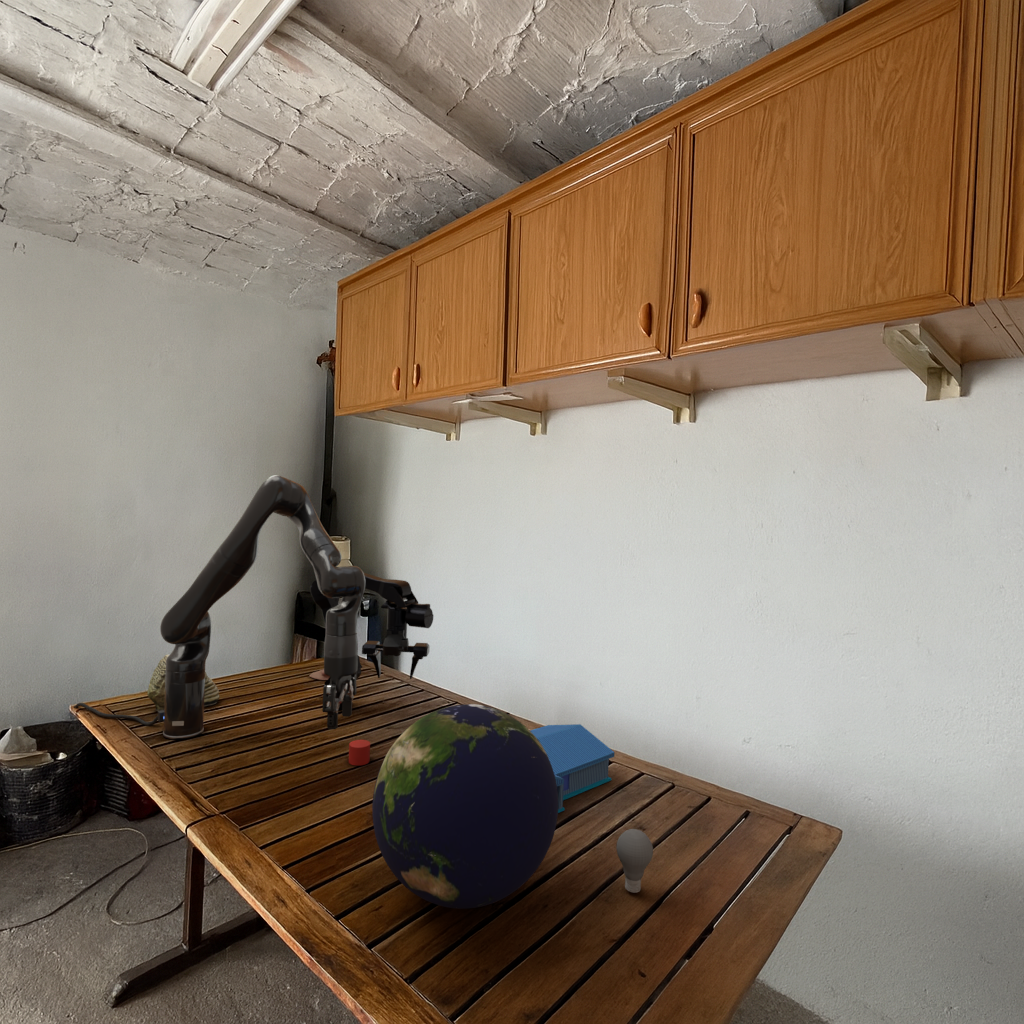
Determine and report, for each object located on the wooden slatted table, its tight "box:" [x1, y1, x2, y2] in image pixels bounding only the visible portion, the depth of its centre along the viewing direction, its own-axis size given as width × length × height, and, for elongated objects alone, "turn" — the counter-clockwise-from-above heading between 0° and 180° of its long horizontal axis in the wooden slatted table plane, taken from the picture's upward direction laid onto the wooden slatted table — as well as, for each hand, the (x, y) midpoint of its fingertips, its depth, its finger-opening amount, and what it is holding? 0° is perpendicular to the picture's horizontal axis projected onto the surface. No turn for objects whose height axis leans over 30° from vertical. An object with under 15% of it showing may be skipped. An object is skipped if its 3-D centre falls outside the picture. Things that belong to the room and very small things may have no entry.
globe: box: [371, 703, 559, 910], centre depth 103 cm, size 30×30×30 cm
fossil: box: [147, 654, 221, 711], centre depth 185 cm, size 9×18×15 cm, turn 132°
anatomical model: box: [308, 668, 330, 681], centre depth 222 cm, size 13×4×12 cm
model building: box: [529, 723, 615, 814], centre depth 141 cm, size 39×24×10 cm, turn 132°
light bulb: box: [615, 828, 654, 894], centre depth 106 cm, size 6×6×10 cm
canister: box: [348, 739, 371, 767], centre depth 152 cm, size 5×5×4 cm
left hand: (339, 722), depth 147 cm, fingers open, 8 cm apart
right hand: (395, 678), depth 184 cm, fingers open, 9 cm apart
